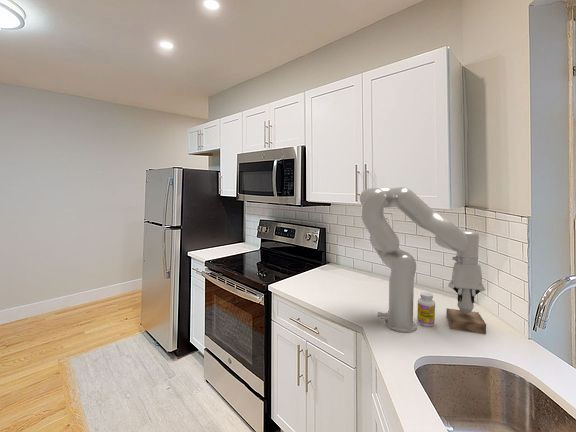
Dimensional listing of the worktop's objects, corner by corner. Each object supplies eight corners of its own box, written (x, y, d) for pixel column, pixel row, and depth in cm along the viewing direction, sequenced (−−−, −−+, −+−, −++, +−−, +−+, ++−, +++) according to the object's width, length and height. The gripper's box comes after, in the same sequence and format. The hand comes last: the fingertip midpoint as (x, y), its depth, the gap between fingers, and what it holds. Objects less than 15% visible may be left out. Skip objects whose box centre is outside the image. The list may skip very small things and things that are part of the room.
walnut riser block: (450, 329, 113) (451, 319, 113) (446, 317, 124) (446, 308, 124) (485, 334, 108) (486, 324, 108) (478, 321, 119) (478, 312, 119)
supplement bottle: (417, 325, 116) (418, 295, 115) (416, 318, 122) (417, 290, 122) (435, 328, 114) (436, 297, 113) (433, 321, 120) (434, 292, 119)
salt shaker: (467, 307, 119) (468, 278, 118) (477, 313, 113) (478, 282, 112) (454, 308, 118) (455, 278, 118) (463, 314, 113) (464, 282, 112)
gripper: (445, 261, 114) (444, 304, 115) (493, 264, 108) (491, 310, 109) (443, 257, 121) (442, 298, 122) (488, 259, 114) (486, 303, 116)
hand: (465, 303), depth 115 cm, fingers closed on salt shaker, 3 cm apart
